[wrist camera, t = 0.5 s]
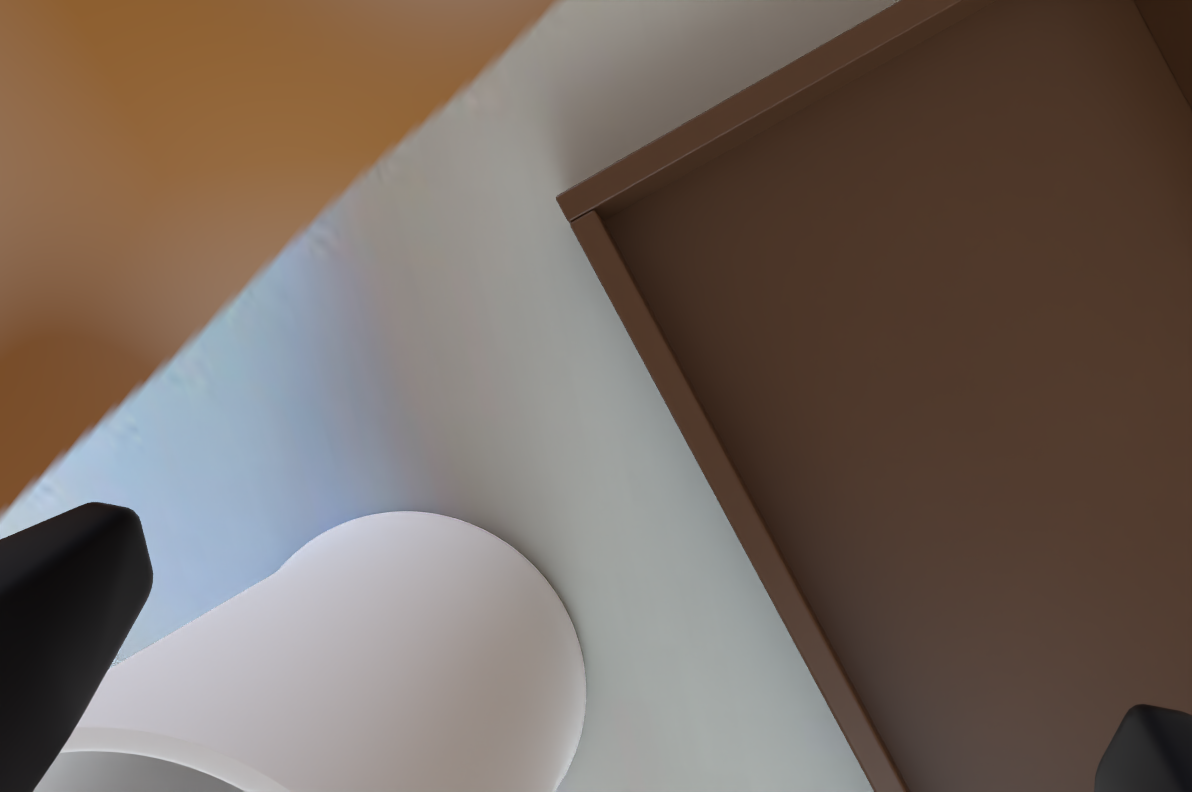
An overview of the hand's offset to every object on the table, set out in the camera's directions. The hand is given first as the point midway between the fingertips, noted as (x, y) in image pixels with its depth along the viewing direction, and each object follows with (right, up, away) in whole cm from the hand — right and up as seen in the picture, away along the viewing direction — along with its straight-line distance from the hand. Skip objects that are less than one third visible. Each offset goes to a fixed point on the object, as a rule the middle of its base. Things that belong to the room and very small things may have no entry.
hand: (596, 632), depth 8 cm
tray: (+10, +1, +13) cm, 16 cm away
